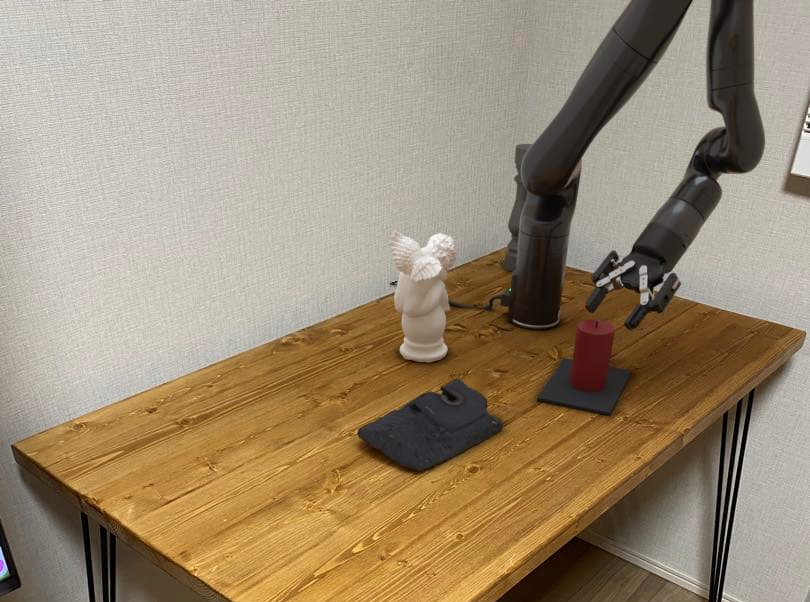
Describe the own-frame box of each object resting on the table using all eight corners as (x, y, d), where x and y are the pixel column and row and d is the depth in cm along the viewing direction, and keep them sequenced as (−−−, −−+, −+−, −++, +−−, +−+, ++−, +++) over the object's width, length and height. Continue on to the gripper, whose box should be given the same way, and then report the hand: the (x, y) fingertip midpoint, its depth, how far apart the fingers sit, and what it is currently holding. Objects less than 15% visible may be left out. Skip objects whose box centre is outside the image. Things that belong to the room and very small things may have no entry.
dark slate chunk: (340, 440, 132) (340, 412, 129) (437, 393, 145) (439, 367, 142) (416, 479, 124) (417, 449, 121) (512, 425, 137) (515, 397, 134)
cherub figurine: (445, 340, 163) (451, 218, 150) (467, 368, 153) (475, 240, 140) (381, 346, 160) (382, 222, 147) (399, 375, 150) (402, 246, 137)
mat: (536, 400, 144) (537, 397, 143) (563, 361, 156) (564, 357, 156) (609, 415, 140) (610, 412, 140) (631, 373, 153) (632, 370, 152)
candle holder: (533, 272, 193) (546, 150, 179) (505, 272, 193) (515, 149, 179) (530, 263, 198) (543, 143, 184) (503, 262, 198) (513, 143, 184)
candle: (565, 387, 147) (574, 324, 140) (574, 373, 151) (583, 311, 145) (601, 394, 145) (611, 330, 138) (609, 380, 149) (619, 317, 143)
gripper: (626, 210, 144) (566, 292, 145) (697, 233, 135) (633, 321, 136) (642, 237, 150) (584, 316, 151) (711, 261, 140) (649, 345, 142)
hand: (607, 318), depth 143 cm, fingers open, 8 cm apart
